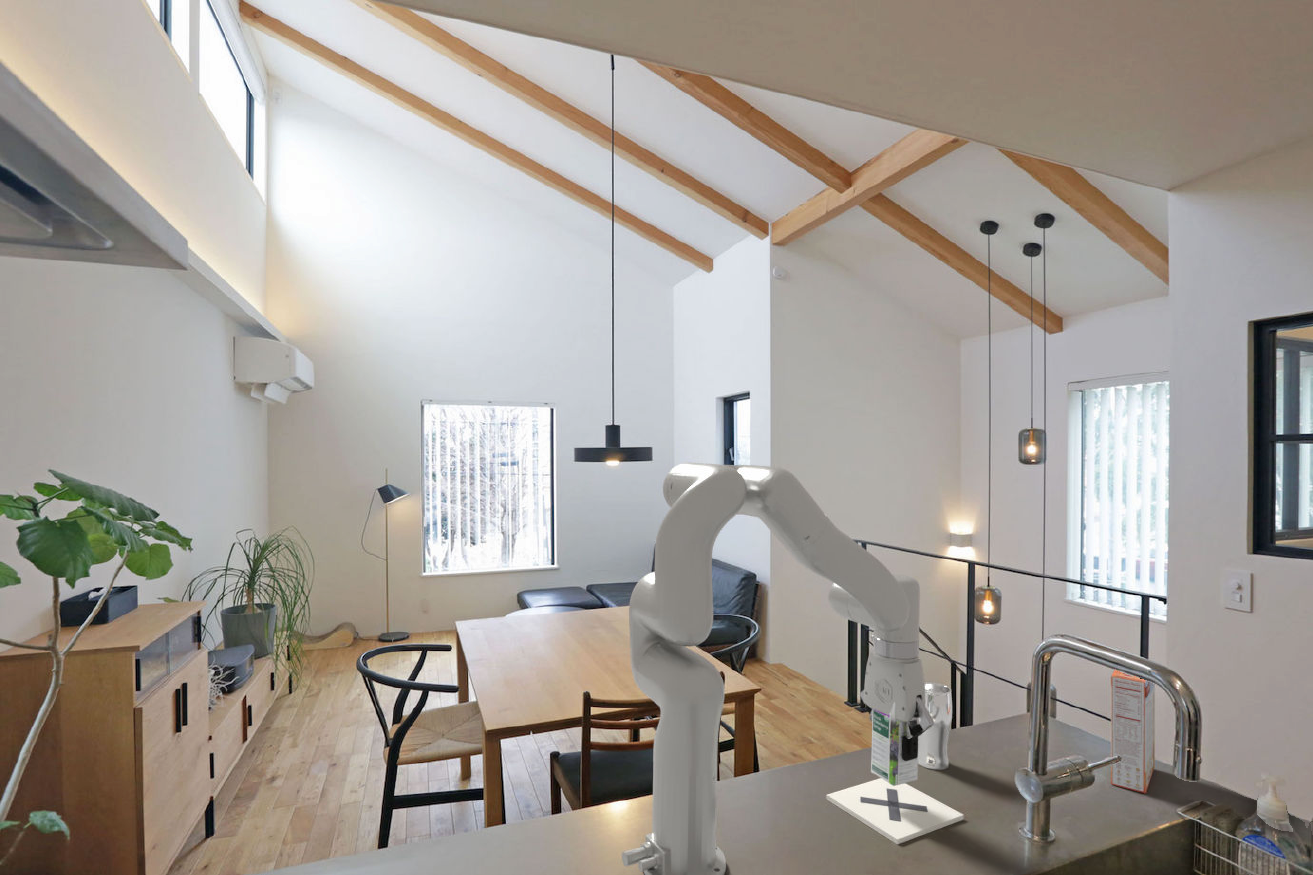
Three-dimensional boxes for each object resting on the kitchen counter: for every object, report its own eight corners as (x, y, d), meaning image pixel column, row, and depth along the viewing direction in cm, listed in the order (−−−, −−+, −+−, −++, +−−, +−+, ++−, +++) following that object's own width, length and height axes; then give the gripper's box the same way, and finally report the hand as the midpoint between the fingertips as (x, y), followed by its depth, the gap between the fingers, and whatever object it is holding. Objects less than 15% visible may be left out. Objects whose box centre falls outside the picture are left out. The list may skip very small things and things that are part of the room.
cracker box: (1119, 759, 145) (1121, 657, 145) (1155, 769, 141) (1157, 663, 141) (1107, 784, 134) (1109, 673, 134) (1146, 795, 130) (1148, 680, 130)
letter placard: (897, 844, 113) (897, 838, 113) (826, 799, 127) (826, 794, 127) (963, 819, 121) (963, 814, 121) (890, 779, 135) (890, 774, 135)
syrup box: (869, 772, 125) (870, 689, 125) (895, 766, 128) (896, 685, 128) (893, 787, 120) (894, 701, 120) (919, 780, 123) (920, 696, 123)
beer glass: (954, 772, 138) (955, 695, 138) (916, 768, 139) (917, 692, 139) (947, 757, 145) (948, 683, 145) (911, 753, 146) (912, 680, 146)
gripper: (844, 637, 130) (842, 737, 130) (921, 664, 115) (920, 777, 115) (873, 632, 133) (872, 729, 133) (952, 658, 118) (951, 766, 118)
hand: (894, 750), depth 124 cm, fingers closed on syrup box, 5 cm apart
